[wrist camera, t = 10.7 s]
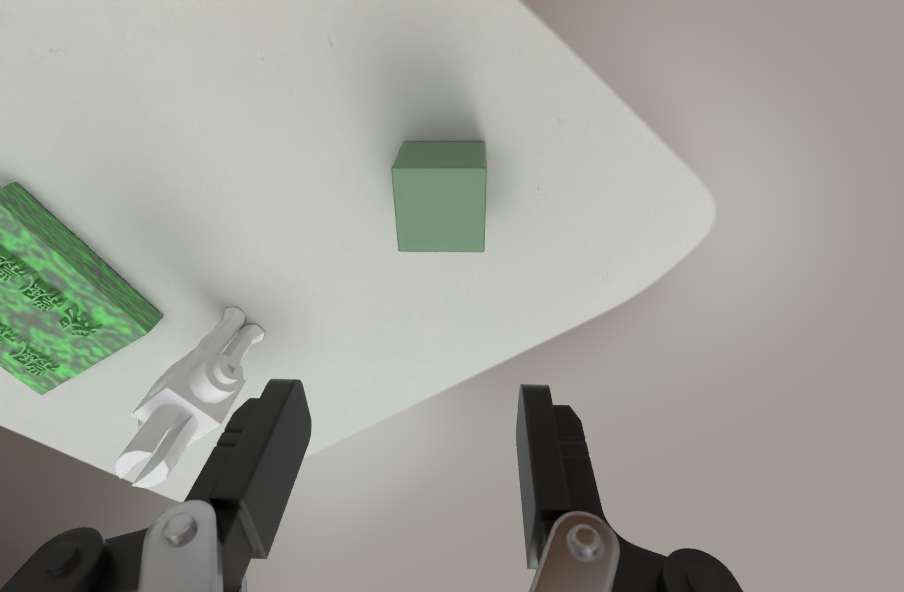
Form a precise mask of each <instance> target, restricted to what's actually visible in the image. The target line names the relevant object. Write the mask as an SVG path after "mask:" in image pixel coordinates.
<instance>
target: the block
mask: <svg viewBox="0 0 904 592" xmlns="http://www.w3.org/2000/svg"><path fill="white" fill-rule="evenodd" d="M486 172H487V167H486V151H485V142H484V141H418V142H403V144H402V146H401V148H400V151H399V153H398V155H397V157H396V160H395V162H394V164H393V166H392V180H393V192H394V204H395V216H396V228H397V240H398V250H399V251H400V252H484V247H485V209H486Z"/></svg>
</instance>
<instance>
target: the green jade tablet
mask: <svg viewBox="0 0 904 592" xmlns="http://www.w3.org/2000/svg"><path fill="white" fill-rule="evenodd" d="M162 317H163V315H162V314H161V313H160V312H158V311H157V310H156V309H155V308H154V307H153V306H152V305H151V304H150V303H149V302H147V301H146V300H145V299H144V298H143V297H142V296H141V295H140V294H139V293H138V292H136V291H135V290H134V289H133V288H132V287H131V286H130V285H129V284H128V283H126V282H125V281H124V280H123V279H122V278H121V277H120V276H119V275H118V274H117V273H115V272H114V271H113V270H112V269H111V268H110V267H109V266H108V265H107V264H106V263H104V262H103V261H102V260H101V259H100V258H99V257H98V256H97V255H96V254H94V253H93V252H92V251H91V250H90V249H89V248H88V247H87V246H86V245H85V244H83V243H82V242H81V241H80V240H79V239H78V238H77V237H76V236H75V235H74V234H72V233H71V232H70V231H69V230H68V229H67V228H66V227H65V226H64V225H63V224H61V223H60V222H59V221H58V220H57V219H56V218H55V217H54V216H53V215H51V214H50V213H49V212H48V211H47V210H46V209H45V208H44V207H43V206H42V205H40V204H39V203H38V202H37V201H36V200H35V199H34V198H33V197H32V196H31V195H29V194H28V193H27V192H26V191H25V190H24V189H23V188H22V187H21V186H20V185H18V184H17V183H16V182H15V183H12V184H10V185H8V186H5V187H3V188H1V189H0V366H1V367H2V368H3V369H5V370H6V371H8V372H9V373H11V374H12V375H13V376H15V377H16V378H18V379H19V380H20V381H22V382H23V383H25V384H26V385H27V386H29V387H30V388H32V389H33V390H35V391H36V392H37V393H39V394H40V395H43V394H45V393H46V392H48V391H50V390H52V389H53V388H55V387H57V386H58V385H60V384H62V383H64V382H65V381H67V380H69V379H70V378H72V377H74V376H75V375H77V374H79V373H81V372H82V371H84V370H86V369H87V368H89V367H91V366H93V365H94V364H96V363H98V362H99V361H101V360H103V359H104V358H106V357H108V356H110V355H111V354H113V353H115V352H116V351H118V350H120V349H122V348H123V347H125V346H127V345H128V344H130V343H132V342H133V341H135V340H137V339H139V338H140V337H142V336H144V335H145V334H147V333H148V332H149V331H150V330H151V329H152V328H153V327H154V326H155V325H156V324H157V323H158V322H159V321H160V319H161V318H162Z"/></svg>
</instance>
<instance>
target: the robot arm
mask: <svg viewBox="0 0 904 592" xmlns="http://www.w3.org/2000/svg"><path fill="white" fill-rule="evenodd" d="M516 427H517V428H516V442H517V455H518V466H519V478H520V488H521V500H522V512H523V522H524V534H525V545H526V555H527V568H528V569H537V570H536V573H535V576H534V579H533V582H532V584H531V587H530V590H529V592H743V591H742V589H741V588H740V586H739V584H738V582H737V581H736V579H735V577H734V576H733V575H732V573H731V572H730V571H729V570H728V568H727V567H726V566H725V565H724V564H722V563H721V562H720V561H719V560H717V559H716V558H715V557H713V556H711V555H710V554H708V553H705V552H703V551H700V550H696V549H689V548H686V549H679V550H676V551H674V552H672V553H671V554H670V555H669V556H668V557H666V556H663V555H661V554H658V553H655V552H652V551H649V550H646V549H643V548H640V547H638V546H636V545H633V544H631V543H630V542H628V541H626V540H625V539H623V538H622V537H620V536H619V535H618V534H617V533H616V532H615V531H614V530H613V529H612V527H611V526H610V525H609V523H608V522H607V520H606V518H605V516H604V513H603V510H602V506H601V502H600V498H599V494H598V490H597V486H596V481H595V477H594V473H593V469H592V465H591V461H590V457H589V452H588V448H587V444H586V442H585V436H584V431H583V427H582V423H581V420H580V419H579V418H578V416H577V415H576V414H575V412H574V411H573V410H572V408H571V407H570V406H569V405H553V404H552V399H551V393H550V388H549V386H548V385H525V384H521V385H520V390H519V402H518V414H517V426H516ZM310 436H311V417H310V413H309V409H308V405H307V401H306V396H305V392H304V388H303V385H302V382H301V381H300V380H295V379H271V380H270V381H269V382H268V383H267V385H266V387H265V389H264V391H263V393H262V395H261V397H260V398H249V399H248V400H247V401H246V402H245V403H244V404H243V405H242V406H241V407H240V408H238V409H237V410H236V411H235V412H234V413H233V415H232V417H231V419H230V421H229V422H228V424H227V426H226V428H225V432H224V433H222V435H221V437H220V438H219V440H218V442H217V446H216V447H214V449H213V451H212V453H211V455H210V456H209V458H208V460H207V462H206V463H205V465H204V467H203V469H202V471H201V472H200V474H199V476H198V478H197V480H196V481H195V483H194V485H193V487H192V489H191V490H190V492H189V494H188V496H187V497H186V499H185V500H184V502H181V503H179V504H176V505H174V506H172V507H170V508H169V509H167V510H166V511H164V512H163V513H162V514H161V515H159V516H158V517H157V518H156V519H155V520H154V522H153V523H152V524H151V525H150V527H149V528H146V529H143V530H140V531H136V532H132V533H128V534H125V535H121V536H117V537H113V538H110V539H106V540H104V538H103V537H102V536H101V534H100V533H99V532H98V531H96V530H95V529H92V528H87V527H82V528H76V529H72V530H69V531H66V532H63V533H61V534H59V535H57V536H56V537H54V538H52V539H51V540H49V541H48V542H47V543H45V544H44V545H43V546H42V547H40V548H39V549H38V550H37V551H36V552H35V553H34V554H33V555H32V556H31V557H30V558H29V559H28V560H27V562H26V563H25V564H24V565H23V566H22V567H21V568H20V569H19V570H18V571H17V572H16V573H15V575H14V576H13V577H12V578H11V579H10V580H9V581H8V582H7V583H6V584H5V585H4V587H3V588H2V589H1V590H0V592H247V581H246V577H245V572H246V570H247V567H248V565H249V562H250V559H251V558H257V559H267V557H268V554H269V552H270V549H271V546H272V543H273V541H274V538H275V535H276V532H277V530H278V527H279V524H280V521H281V518H282V516H283V513H284V510H285V507H286V504H287V502H288V499H289V496H290V493H291V490H292V488H293V485H294V482H295V479H296V477H297V474H298V471H299V468H300V466H301V463H302V460H303V457H304V455H305V452H306V449H307V446H308V444H309V440H310Z"/></svg>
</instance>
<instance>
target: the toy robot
mask: <svg viewBox="0 0 904 592" xmlns="http://www.w3.org/2000/svg"><path fill="white" fill-rule="evenodd" d="M245 317H246V315H245V314H244V313H243V312H242V311H241V310H240V309H238V308H237V307H231V308H226V309H225V313H224V316H223V320H222V322H220V323H219V324H218V325H217V326H216V327H215V329H214V330H213V331H212V332H211V333H210V334H208V335H207V336H206V337H204V338H203V339H202V340H201V342H200V343H199V345H198V346H197V347H196V348H195V349H194V350H192V351H191V352H190V353H189V354H187V355H186V356H185V357H183V358H182V359H181V360H180V361H178V362H176V363H175V364H174V365H172V366H171V367H170V368H169V369H168V370H167V371H166V372H165V373H164V374H163V375H162V376H161V377H160V378H159V379H158V380H157V381H156V382H155V384H154V385H153V386H152V387H151V389H150V390H149V392H148V394H147V395H146V397H145V398H144V399H143V400H142V402H141V403H140V404H139V406H138V407H137V408H136V409H135V411H134V412H133V413H132V414H131V415H133V416H134V417H136V418H138V429H139V431H138V433H137V434H136V435H135V437H134V438H133V439H132V441H131V442H130V443H129V445H128V446H127V447H126V449H125V450H124V451H123V453H122V454H121V455H120V456H119V458H118V459H117V460H116V466H115V471H116V473H117V474H118V476H119V478H120V479H121V478H122V477H123V476H124V475H125V474H126V473H127V472H128V471H129V470H130V469H132V468H133V467H134V466H135V465H136V464H138V463H139V462H140V461H141V460H143V459H144V458H146V457H147V456H149V455H150V454H152V453H153V452H154V450H155V448H156V447H157V445H158V444H159V442H160V441H161V440H163V441H162V443H161V444H160V446H159V447H158V449H157V451H156V452H155V454H154V455H153V457H152V458H151V459H150V461H149V462H148V464H147V465H146V466H145V468H144V469H143V471H142V472H141V473H140V475H139V476H138V478H137V479H136V480H135V482H134V483H133V485H132V486H136V487H143V488H148V487H152V486H157V485H159V484H160V483H162V482H163V481H164V480H165V479H167V477H168V475H169V474H170V472H171V471H172V469H173V467H174V466H175V464H176V463H177V461H178V459H179V458H180V456H181V454H182V453H183V451H184V450H185V448H186V447H188V446H189V445H191V444H192V443H194V442H195V441H197V440H198V439H200V438H201V437H203V436H204V435H206V434H207V433H209V432H210V431H212V430H213V429H215V428H216V427H218V426H219V425H221V423H222V421H223V420H224V418H225V416H226V415H227V413H228V411H229V409H230V408H231V406H232V404H233V402H234V401H235V399H236V397H237V395H238V394H239V392H240V390H241V388H242V387H243V385H244V383H245V380H244V379H243V371H242V367H241V365H240V363H241V361H242V358H243V357H244V356H245V355H246V353H247V352H248V351H249V349H250V347H251V345H253V344H255V343H257V342H260V341H262V340H263V337H264V334H265V332H264V331H263V330H262V329H261V328H260V327H259V326H258V325H245V326H244V327H243V328H242V329H241V330H240V332H239V333H238V334H237V335H236V337H235V338H234V339H233V341H232V342H231V343H230V344H229V346H228V347H227V348H226V350H225V351H224V352H223V353H222V354H220V352H221V351H222V350H223V349H224V347H225V346H226V345H227V344H228V342H229V341H230V340H231V339H232V337H233V336H234V335H235V334H236V332H237V331H238V330H239V329H240V327H241V326H242V325H243V324H244V321H245Z"/></svg>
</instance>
